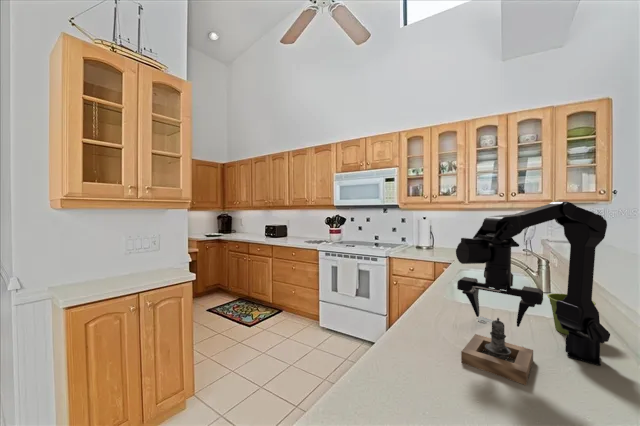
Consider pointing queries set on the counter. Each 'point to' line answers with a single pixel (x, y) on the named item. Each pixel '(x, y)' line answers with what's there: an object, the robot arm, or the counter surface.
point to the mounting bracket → (484, 320)
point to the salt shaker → (498, 341)
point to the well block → (498, 360)
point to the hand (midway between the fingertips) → (497, 321)
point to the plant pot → (553, 300)
